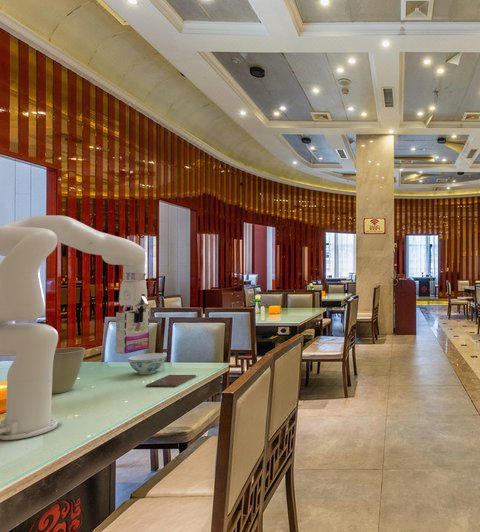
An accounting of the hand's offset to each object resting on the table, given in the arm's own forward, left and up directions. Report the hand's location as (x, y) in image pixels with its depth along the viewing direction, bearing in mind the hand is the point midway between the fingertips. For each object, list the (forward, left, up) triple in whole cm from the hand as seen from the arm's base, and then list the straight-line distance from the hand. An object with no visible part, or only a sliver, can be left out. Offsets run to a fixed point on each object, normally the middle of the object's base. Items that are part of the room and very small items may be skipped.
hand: (133, 321), depth 151 cm
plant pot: (-11, +24, -27) cm, 38 cm away
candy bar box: (0, 0, -12) cm, 12 cm away
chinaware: (+21, +18, -27) cm, 39 cm away
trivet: (+14, -6, -27) cm, 31 cm away
